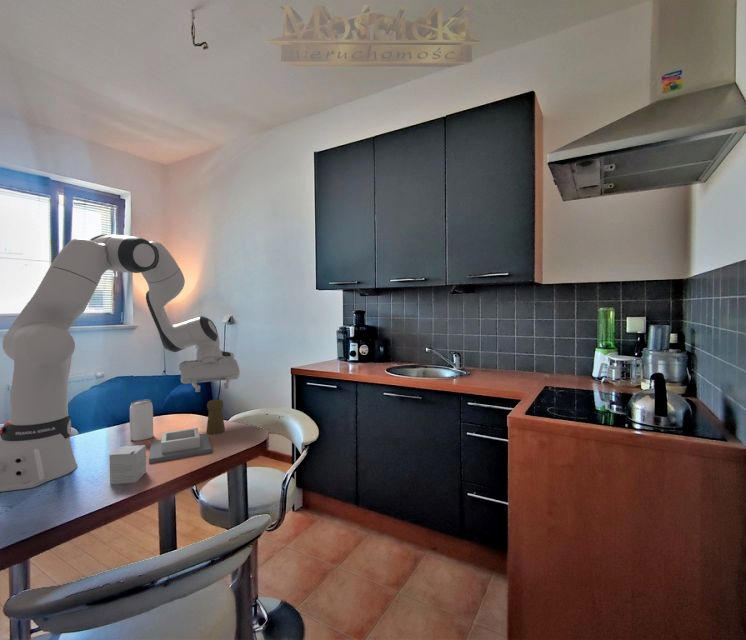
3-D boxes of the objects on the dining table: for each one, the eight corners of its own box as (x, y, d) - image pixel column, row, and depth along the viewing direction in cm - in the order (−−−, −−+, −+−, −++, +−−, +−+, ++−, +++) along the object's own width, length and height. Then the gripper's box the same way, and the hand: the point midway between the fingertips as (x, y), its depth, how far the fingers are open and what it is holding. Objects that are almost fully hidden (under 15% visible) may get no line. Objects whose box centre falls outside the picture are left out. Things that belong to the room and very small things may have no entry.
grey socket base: (148, 463, 104) (148, 448, 104) (151, 444, 118) (151, 431, 118) (211, 452, 112) (211, 438, 111) (207, 436, 126) (207, 423, 125)
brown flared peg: (228, 429, 133) (227, 398, 133) (219, 434, 127) (219, 402, 127) (211, 428, 134) (211, 397, 134) (202, 434, 128) (201, 401, 127)
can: (128, 437, 125) (127, 401, 124) (150, 433, 129) (150, 398, 129) (132, 442, 120) (131, 405, 120) (155, 438, 124) (154, 401, 124)
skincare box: (121, 474, 97) (120, 445, 97) (147, 472, 99) (146, 444, 98) (109, 485, 91) (108, 454, 91) (136, 482, 93) (136, 453, 92)
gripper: (178, 356, 139) (180, 387, 130) (237, 352, 148) (242, 381, 140) (178, 366, 143) (180, 397, 134) (236, 362, 152) (240, 391, 144)
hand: (212, 389), depth 137 cm, fingers open, 8 cm apart
